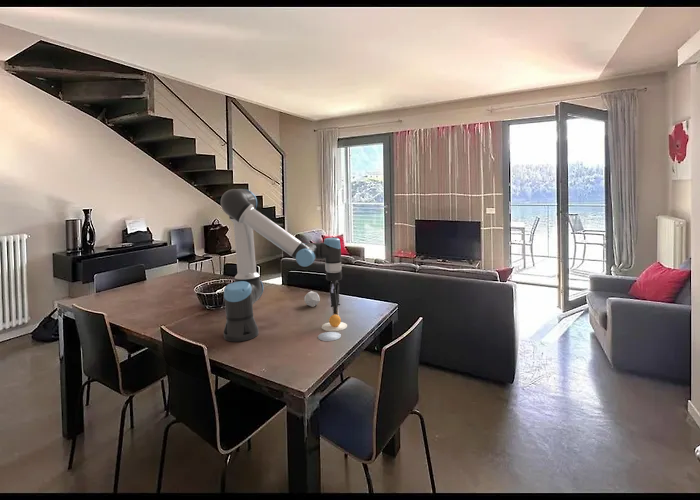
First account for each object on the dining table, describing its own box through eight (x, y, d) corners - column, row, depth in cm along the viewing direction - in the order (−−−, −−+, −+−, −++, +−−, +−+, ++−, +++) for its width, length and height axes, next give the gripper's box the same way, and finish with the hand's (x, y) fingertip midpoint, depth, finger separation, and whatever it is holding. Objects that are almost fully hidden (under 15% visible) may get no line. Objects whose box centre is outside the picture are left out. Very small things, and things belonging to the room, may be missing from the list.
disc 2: (315, 340, 163) (315, 340, 163) (320, 331, 173) (320, 331, 173) (338, 341, 162) (338, 340, 162) (342, 332, 172) (342, 332, 172)
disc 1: (319, 331, 174) (319, 330, 174) (324, 321, 186) (324, 321, 186) (345, 331, 172) (345, 331, 172) (348, 322, 184) (348, 321, 184)
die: (323, 307, 211) (321, 290, 215) (314, 303, 204) (313, 286, 209) (311, 310, 214) (309, 294, 219) (302, 307, 207) (300, 290, 212)
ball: (328, 328, 179) (327, 320, 176) (330, 320, 183) (329, 311, 180) (340, 329, 178) (339, 321, 175) (342, 320, 183) (341, 312, 179)
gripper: (339, 274, 172) (341, 324, 176) (343, 267, 184) (345, 314, 188) (323, 274, 173) (325, 324, 177) (328, 268, 185) (330, 314, 189)
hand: (336, 319), depth 183 cm, fingers closed
